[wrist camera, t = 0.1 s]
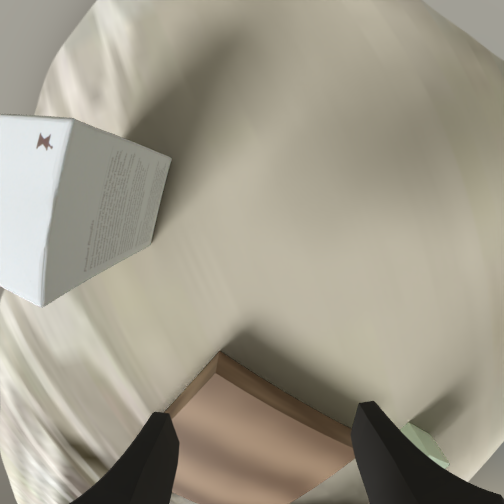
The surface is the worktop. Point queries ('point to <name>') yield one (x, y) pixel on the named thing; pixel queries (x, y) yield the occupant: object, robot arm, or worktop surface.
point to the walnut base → (251, 440)
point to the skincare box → (71, 203)
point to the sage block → (425, 444)
